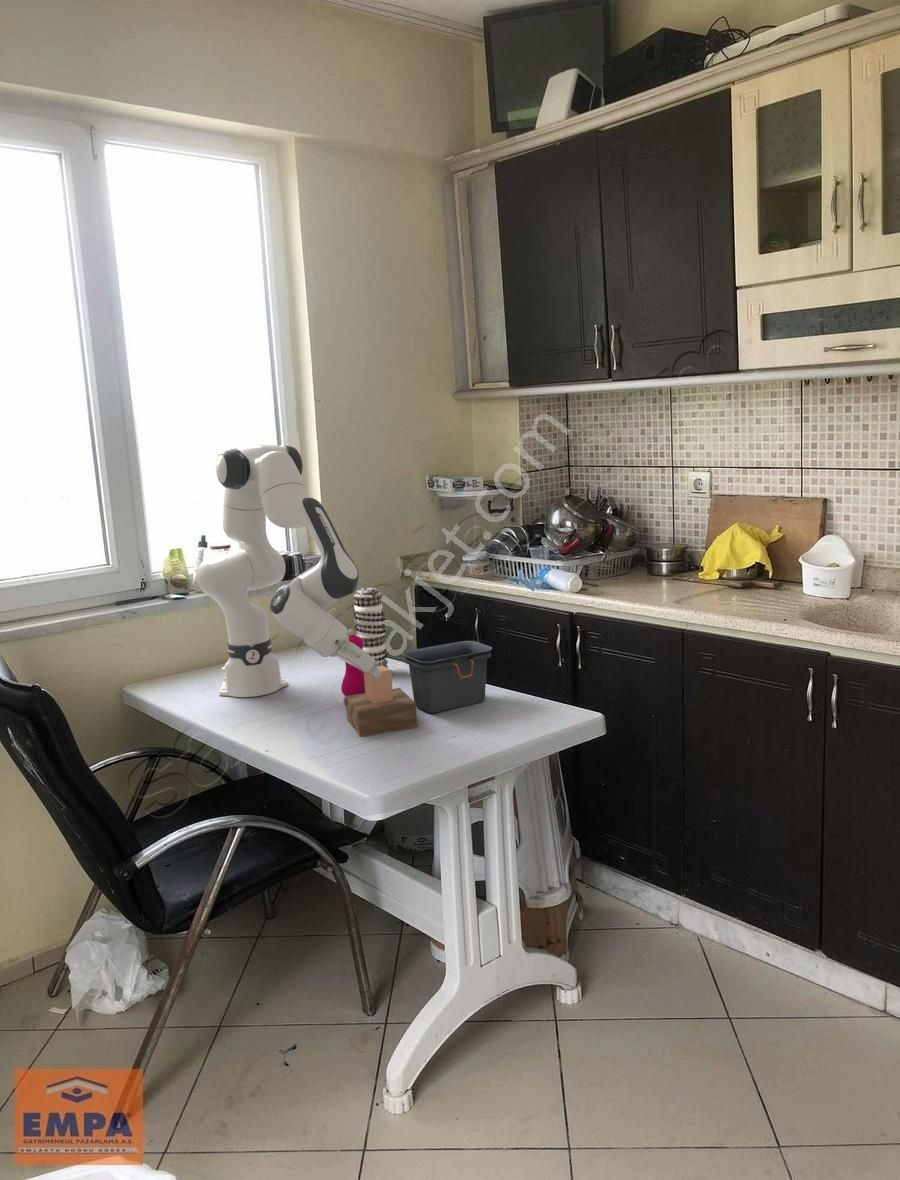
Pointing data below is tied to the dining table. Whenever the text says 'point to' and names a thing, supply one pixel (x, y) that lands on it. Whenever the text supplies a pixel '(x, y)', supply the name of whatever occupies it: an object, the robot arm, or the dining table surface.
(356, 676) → the pepper mill
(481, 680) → the storage bin
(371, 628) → the decorative candle
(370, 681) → the terracotta block
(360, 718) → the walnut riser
